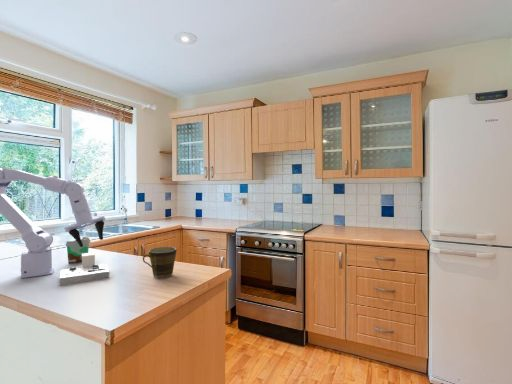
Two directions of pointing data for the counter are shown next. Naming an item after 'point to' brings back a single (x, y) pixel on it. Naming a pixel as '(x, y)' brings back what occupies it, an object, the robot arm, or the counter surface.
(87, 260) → the plug
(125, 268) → the counter surface
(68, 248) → the food container
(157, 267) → the ceramic cup
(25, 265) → the robot arm
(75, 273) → the socket
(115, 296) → the counter surface
